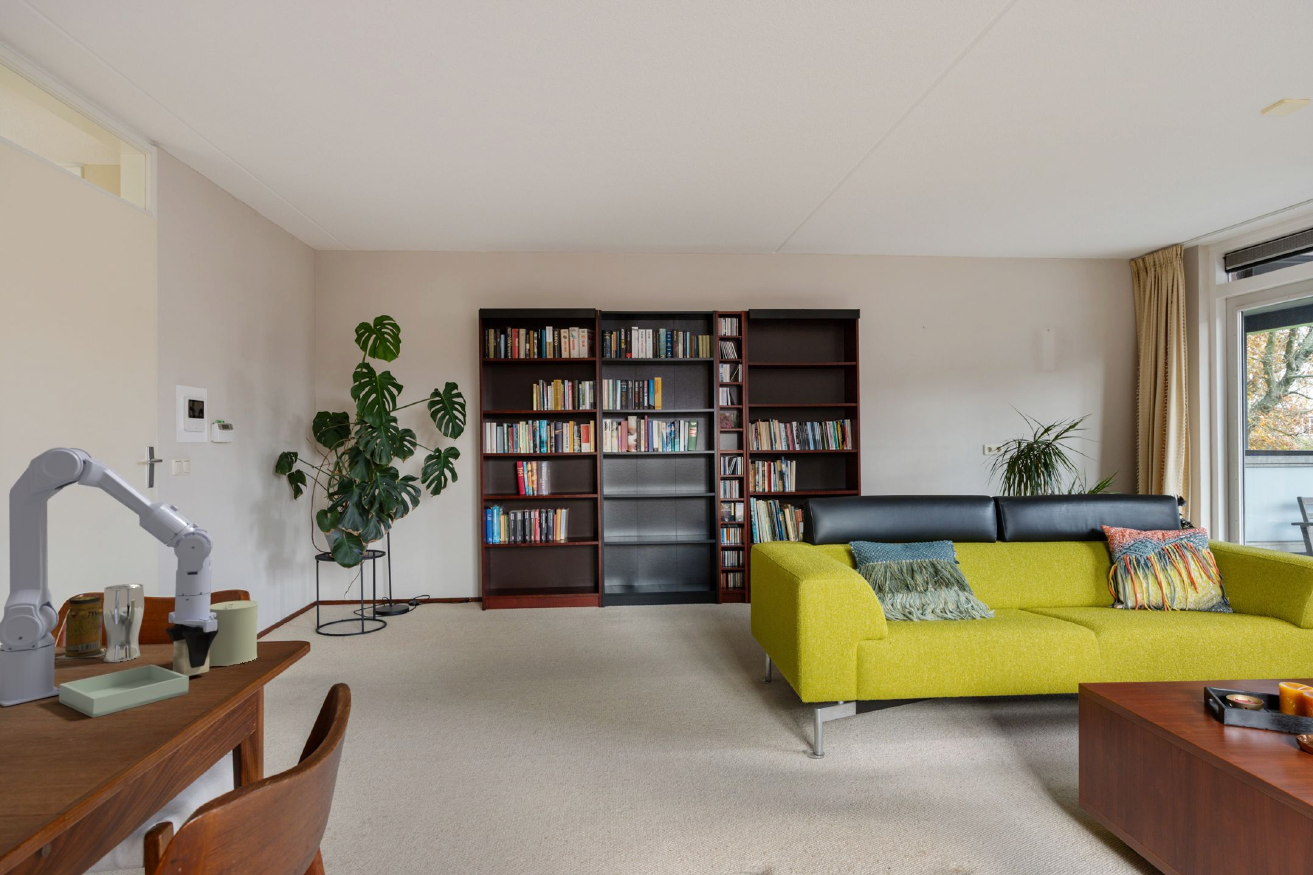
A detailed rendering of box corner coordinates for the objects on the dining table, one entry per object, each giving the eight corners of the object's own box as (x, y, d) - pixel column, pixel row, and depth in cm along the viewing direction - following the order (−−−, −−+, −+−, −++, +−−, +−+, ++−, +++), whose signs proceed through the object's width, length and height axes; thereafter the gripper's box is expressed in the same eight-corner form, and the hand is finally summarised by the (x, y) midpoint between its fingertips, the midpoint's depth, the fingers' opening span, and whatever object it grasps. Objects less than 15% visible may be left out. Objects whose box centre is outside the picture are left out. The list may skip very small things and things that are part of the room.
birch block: (172, 673, 134) (173, 641, 134) (197, 667, 137) (198, 636, 138) (183, 677, 131) (184, 644, 131) (209, 671, 135) (209, 639, 135)
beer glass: (125, 663, 143) (127, 589, 144) (92, 663, 143) (94, 589, 144) (150, 653, 150) (152, 583, 151) (118, 653, 150) (120, 583, 151)
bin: (58, 701, 120) (59, 684, 120) (151, 680, 132) (152, 664, 132) (93, 717, 113) (93, 698, 113) (188, 693, 125) (188, 676, 125)
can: (200, 669, 139) (202, 608, 140) (211, 656, 148) (212, 599, 148) (253, 664, 143) (254, 605, 143) (260, 652, 151) (261, 596, 152)
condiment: (78, 650, 153) (80, 594, 153) (119, 649, 154) (121, 594, 154) (53, 659, 146) (54, 601, 146) (96, 658, 147) (98, 600, 147)
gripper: (234, 593, 134) (232, 665, 134) (196, 586, 142) (194, 653, 142) (194, 599, 128) (192, 674, 128) (157, 591, 136) (155, 662, 136)
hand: (191, 664), depth 134 cm, fingers closed on birch block, 4 cm apart
